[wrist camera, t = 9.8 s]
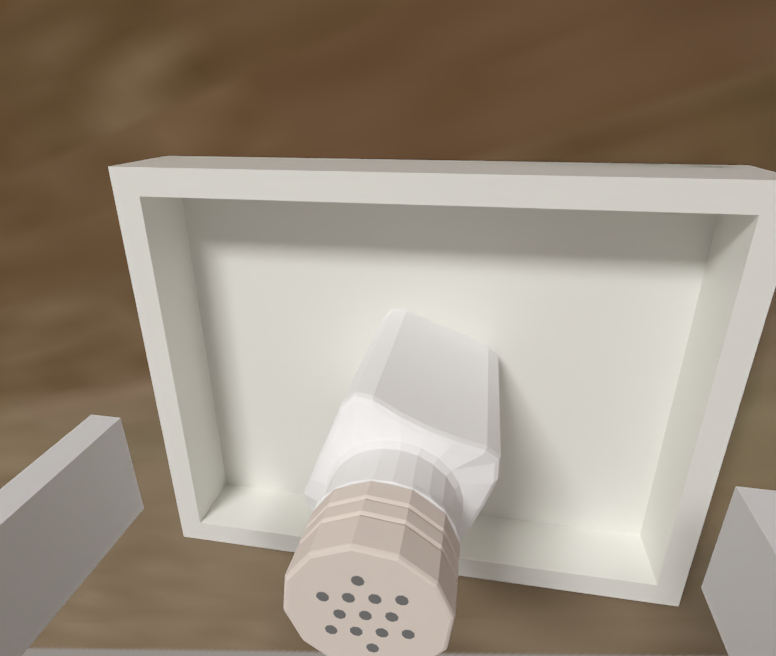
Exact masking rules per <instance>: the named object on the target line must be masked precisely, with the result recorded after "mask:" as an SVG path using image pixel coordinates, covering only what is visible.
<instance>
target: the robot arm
mask: <svg viewBox="0 0 776 656" xmlns="http://www.w3.org/2000/svg"><path fill="white" fill-rule="evenodd" d="M143 509H144V507H143V503H142V499H141V495H140V491H139V488H138V484H137V480H136V476H135V472H134V468H133V464H132V461H131V457H130V453H129V449H128V445H127V441H126V437H125V434H124V430H123V426H122V422H121V418H116V417H107V416H98V415H90V416H89V417H88V418H87V419H85V420H84V421H83V422H82V423H81V424H79V425H78V426H77V427H76V428H74V429H73V430H72V431H71V432H70V433H68V434H67V435H66V436H65V437H63V438H62V439H61V440H60V441H59V442H57V443H56V444H55V445H54V446H52V447H51V448H50V449H49V450H48V451H46V452H45V453H44V454H43V455H41V456H40V457H39V458H38V459H37V460H35V461H34V462H33V463H32V464H30V465H29V466H28V467H27V468H26V469H24V470H23V471H22V472H21V473H19V474H18V475H17V476H16V477H15V478H13V479H12V480H11V481H10V482H8V483H7V484H6V485H5V486H4V487H2V488H1V489H0V656H22V655H23V654H24V652H25V651H26V650H27V649H28V648H29V646H30V645H31V644H32V643H33V642H34V640H35V639H36V638H37V637H38V636H39V634H40V633H41V632H42V631H43V630H44V628H45V627H46V626H47V625H48V623H49V622H50V621H51V620H52V619H53V617H54V616H55V615H56V614H57V613H58V611H59V610H60V609H61V608H62V607H63V605H64V604H65V603H66V602H67V601H68V599H69V598H70V597H71V596H72V595H73V593H74V592H75V591H76V590H77V589H78V587H79V586H80V585H81V584H82V583H83V581H84V580H85V579H86V578H87V576H88V575H89V574H90V573H91V572H92V570H93V569H94V568H95V567H96V566H97V564H98V563H99V562H100V561H101V560H102V558H103V557H104V556H105V555H106V554H107V552H108V551H109V550H110V549H111V548H112V546H113V545H114V544H115V543H116V542H117V540H118V539H119V538H120V537H121V536H122V534H123V533H124V532H125V531H126V529H127V528H128V527H129V526H130V525H131V523H132V522H133V521H134V520H135V519H136V517H137V516H138V515H139V514H140V513H141V511H142V510H143ZM701 589H702V591H703V594H704V596H705V599H706V601H707V603H708V606H709V608H710V611H711V613H712V616H713V618H714V621H715V623H716V626H717V628H718V631H719V633H720V636H721V638H722V641H723V643H724V646H725V648H726V651H727V653H728V656H776V491H773V490H764V489H755V488H746V487H737V486H736V487H735V490H734V493H733V496H732V499H731V501H730V504H729V507H728V510H727V513H726V516H725V519H724V522H723V525H722V528H721V531H720V534H719V537H718V540H717V543H716V546H715V548H714V551H713V554H712V557H711V560H710V563H709V566H708V569H707V572H706V575H705V578H704V581H703V584H702V587H701Z"/></svg>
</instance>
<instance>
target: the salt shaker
mask: <svg viewBox="0 0 776 656" xmlns="http://www.w3.org/2000/svg"><path fill="white" fill-rule="evenodd" d="M500 460H501V444H500V407H499V370H498V355H497V354H496V353H495V352H494V351H493V350H492V349H491V348H490V347H489V346H487V345H485V344H482V343H480V342H478V341H475V340H473V339H471V338H469V337H466V336H464V335H462V334H460V333H457V332H455V331H453V330H450V329H448V328H446V327H444V326H441V325H439V324H437V323H435V322H432V321H430V320H428V319H425V318H423V317H421V316H419V315H416V314H414V313H412V312H410V311H407V310H401V309H393V310H392V311H391V312H389V313H388V314H387V315H386V316H385V317H384V318H383V319H382V321H381V323H380V325H379V327H378V329H377V331H376V333H375V335H374V337H373V339H372V341H371V344H370V346H369V348H368V350H367V352H366V354H365V356H364V358H363V360H362V362H361V364H360V366H359V368H358V370H357V372H356V374H355V376H354V378H353V380H352V382H351V384H350V387H349V389H348V391H347V393H346V395H345V397H344V399H343V401H342V403H341V405H340V407H339V410H338V412H337V414H336V417H335V419H334V421H333V423H332V426H331V428H330V430H329V433H328V435H327V437H326V440H325V442H324V444H323V447H322V449H321V451H320V454H319V456H318V458H317V461H316V463H315V466H314V468H313V470H312V473H311V475H310V478H309V480H308V483H307V485H306V487H305V491H304V494H305V498H306V501H307V504H308V505H309V507H310V508H311V509H312V511H313V512H312V514H311V516H310V519H309V521H308V523H307V526H306V530H305V531H304V533H303V535H302V537H301V540H300V542H299V546H298V547H297V549H296V551H295V554H294V556H293V558H292V560H291V563H290V565H289V567H288V570H287V572H286V574H285V586H284V611H285V612H286V614H287V616H288V617H289V619H290V620H291V622H292V623H293V625H294V627H295V628H296V630H297V631H298V633H299V634H300V636H301V638H302V639H303V640H304V641H305V642H307V643H308V644H310V645H311V646H313V647H314V648H316V649H317V650H319V651H320V652H322V653H323V654H325V655H326V656H438V655H439V654H441V653H442V652H443V651H445V650H446V649H447V648H448V644H449V640H450V636H451V632H452V628H453V624H454V620H455V614H456V599H457V580H458V570H459V566H458V563H459V559H460V542H461V540H462V539H463V537H464V536H465V535H466V533H467V532H468V530H469V529H470V527H471V526H472V524H473V522H474V521H475V519H476V518H477V516H478V514H479V513H480V511H481V509H482V508H483V506H484V504H485V503H486V501H487V499H488V497H489V495H490V493H491V491H492V489H493V488H494V486H495V484H496V482H497V480H498V478H499V475H500Z"/></svg>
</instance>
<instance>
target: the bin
mask: <svg viewBox="0 0 776 656" xmlns="http://www.w3.org/2000/svg"><path fill="white" fill-rule="evenodd" d="M108 169H109V174H110V179H111V184H112V188H113V193H114V198H115V203H116V208H117V213H118V218H119V223H120V227H121V232H122V237H123V242H124V247H125V252H126V257H127V262H128V267H129V271H130V276H131V281H132V286H133V291H134V296H135V301H136V306H137V310H138V315H139V320H140V325H141V330H142V335H143V340H144V345H145V349H146V354H147V359H148V364H149V369H150V374H151V379H152V384H153V389H154V393H155V398H156V403H157V408H158V413H159V418H160V423H161V428H162V432H163V437H164V442H165V447H166V452H167V457H168V462H169V467H170V472H171V476H172V481H173V486H174V491H175V496H176V501H177V506H178V511H179V515H180V520H181V525H182V530H183V535H184V537H191V538H198V539H205V540H212V541H220V542H227V543H234V544H241V545H248V546H255V547H262V548H269V549H276V550H283V551H290V552H295V551H296V549H297V547H298V546H299V542H300V540H301V537H302V535H303V533H304V531H305V530H306V526H307V523H308V521H309V519H310V516H311V514H312V512H313V511H312V509H311V508H310V507H309V505H308V504H307V501H306V498H305V494H304V491H305V487H306V485H307V483H308V480H309V478H310V475H311V473H312V470H313V468H314V466H315V463H316V461H317V458H318V456H319V454H320V451H321V449H322V447H323V444H324V442H325V440H326V437H327V435H328V433H329V430H330V428H331V426H332V423H333V421H334V419H335V417H336V414H337V412H338V410H339V407H340V405H341V403H342V401H343V399H344V397H345V395H346V393H347V391H348V389H349V387H350V384H351V382H352V380H353V378H354V376H355V374H356V372H357V370H358V368H359V366H360V364H361V362H362V360H363V358H364V356H365V354H366V352H367V350H368V348H369V346H370V344H371V341H372V339H373V337H374V335H375V333H376V331H377V329H378V327H379V325H380V323H381V321H382V319H383V318H384V317H385V316H386V315H387V314H388V313H389V312H391V311H392V310H393V309H401V310H407V311H410V312H412V313H414V314H416V315H419V316H421V317H423V318H425V319H428V320H430V321H432V322H435V323H437V324H439V325H441V326H444V327H446V328H448V329H450V330H453V331H455V332H457V333H460V334H462V335H464V336H466V337H469V338H471V339H473V340H475V341H478V342H480V343H482V344H485V345H487V346H489V347H490V348H491V349H492V350H493V351H494V352H495V353H496V354H497V355H498V370H499V407H500V444H501V460H500V475H499V478H498V480H497V482H496V484H495V486H494V488H493V489H492V491H491V493H490V495H489V497H488V499H487V501H486V503H485V504H484V506H483V508H482V509H481V511H480V513H479V514H478V516H477V518H476V519H475V521H474V522H473V524H472V526H471V527H470V529H469V530H468V532H467V533H466V535H465V536H464V537H463V539H462V540H461V542H460V559H459V563H458V566H459V570H458V575H459V576H466V577H474V578H481V579H488V580H495V581H502V582H509V583H516V584H523V585H530V586H537V587H544V588H551V589H558V590H565V591H572V592H579V593H586V594H593V595H601V596H608V597H615V598H622V599H629V600H636V601H643V602H650V603H657V604H664V605H671V606H679V603H680V600H681V596H682V593H683V590H684V586H685V583H686V580H687V577H688V573H689V570H690V567H691V563H692V560H693V557H694V554H695V550H696V547H697V544H698V540H699V537H700V534H701V530H702V527H703V524H704V521H705V517H706V514H707V511H708V507H709V504H710V501H711V497H712V494H713V491H714V488H715V484H716V481H717V478H718V474H719V471H720V468H721V465H722V461H723V458H724V455H725V451H726V448H727V445H728V441H729V438H730V435H731V432H732V428H733V425H734V422H735V418H736V415H737V412H738V409H739V405H740V402H741V399H742V395H743V392H744V389H745V385H746V382H747V379H748V376H749V372H750V369H751V366H752V362H753V359H754V356H755V353H756V349H757V346H758V343H759V339H760V336H761V333H762V329H763V326H764V323H765V320H766V316H767V313H768V310H769V306H770V303H771V300H772V297H773V293H774V290H775V287H776V172H773V171H769V170H765V169H761V168H758V167H754V166H750V165H698V164H637V163H575V162H514V161H453V160H391V159H330V158H269V157H208V156H163V157H158V158H152V159H147V160H142V161H136V162H131V163H125V164H120V165H114V166H109V167H108Z"/></svg>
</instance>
